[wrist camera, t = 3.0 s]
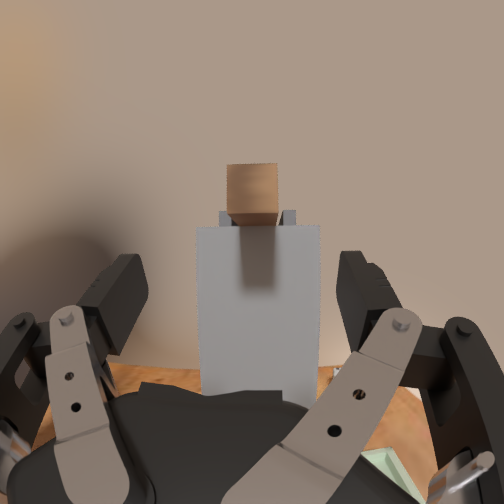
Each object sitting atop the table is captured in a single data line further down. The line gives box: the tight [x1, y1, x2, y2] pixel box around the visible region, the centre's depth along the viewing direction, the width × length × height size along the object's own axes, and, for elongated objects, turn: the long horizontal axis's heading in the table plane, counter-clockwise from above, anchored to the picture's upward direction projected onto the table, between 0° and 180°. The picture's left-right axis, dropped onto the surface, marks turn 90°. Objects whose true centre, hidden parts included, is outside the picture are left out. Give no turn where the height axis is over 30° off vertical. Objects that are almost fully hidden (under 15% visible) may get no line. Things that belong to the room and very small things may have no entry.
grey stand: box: [196, 210, 320, 410], centre depth 36 cm, size 12×16×34 cm
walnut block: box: [227, 163, 278, 226], centre depth 32 cm, size 4×24×4 cm, turn 177°
